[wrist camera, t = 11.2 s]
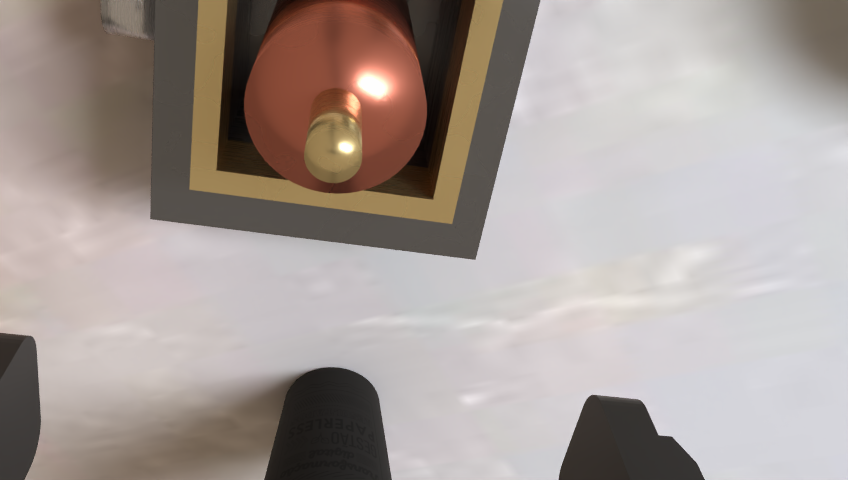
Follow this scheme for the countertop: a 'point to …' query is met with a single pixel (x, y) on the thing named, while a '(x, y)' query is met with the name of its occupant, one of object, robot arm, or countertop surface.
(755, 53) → the countertop surface
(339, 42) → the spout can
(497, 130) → the grey drawer box
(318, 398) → the drinking cup
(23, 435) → the robot arm
